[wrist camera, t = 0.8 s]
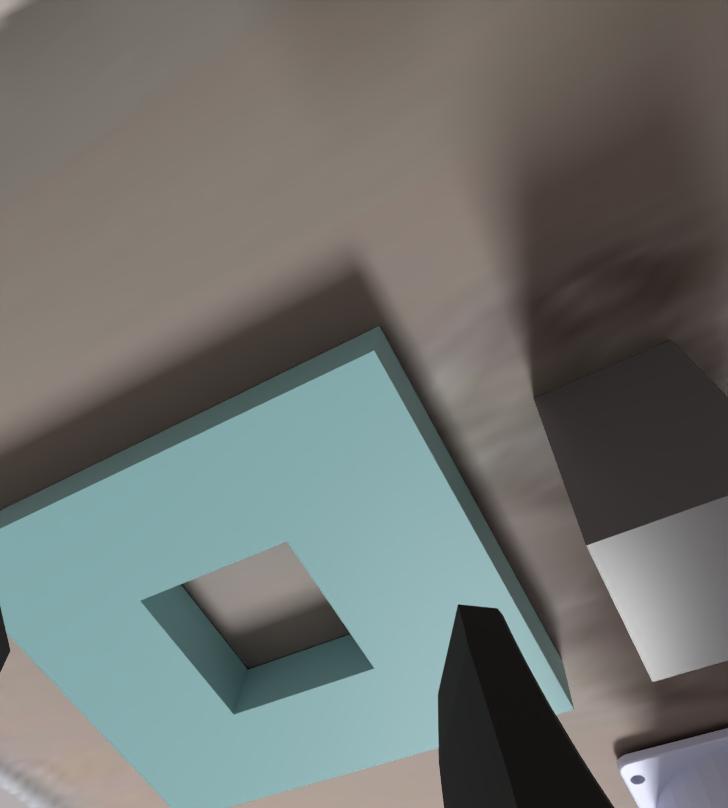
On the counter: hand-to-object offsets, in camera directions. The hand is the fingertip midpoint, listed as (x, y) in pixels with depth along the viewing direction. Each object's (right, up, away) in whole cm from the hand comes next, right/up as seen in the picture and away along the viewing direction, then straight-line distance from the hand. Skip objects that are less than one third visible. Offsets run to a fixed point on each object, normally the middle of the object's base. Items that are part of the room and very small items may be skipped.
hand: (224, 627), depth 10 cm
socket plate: (-1, -3, +13) cm, 13 cm away
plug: (+10, +3, +9) cm, 14 cm away
